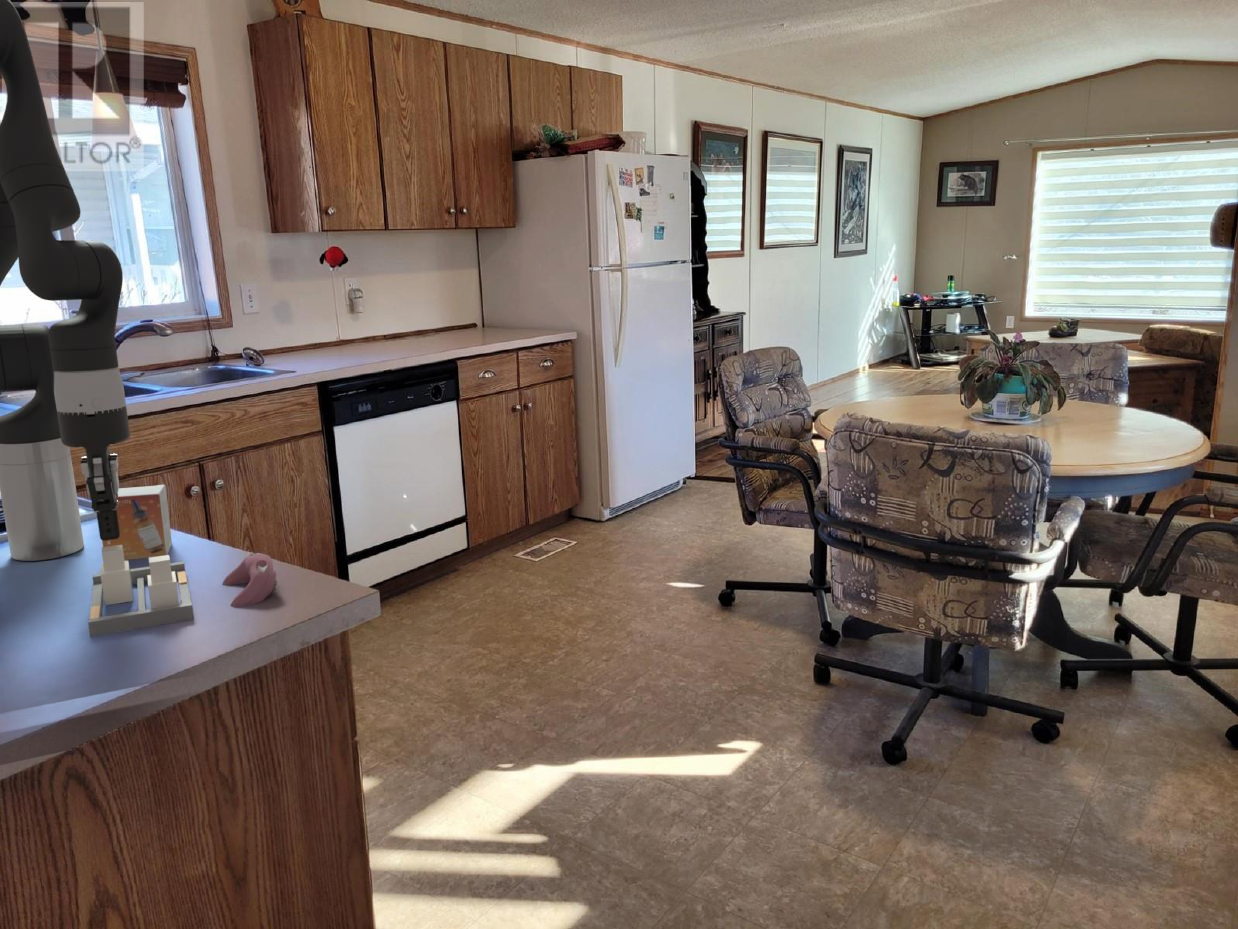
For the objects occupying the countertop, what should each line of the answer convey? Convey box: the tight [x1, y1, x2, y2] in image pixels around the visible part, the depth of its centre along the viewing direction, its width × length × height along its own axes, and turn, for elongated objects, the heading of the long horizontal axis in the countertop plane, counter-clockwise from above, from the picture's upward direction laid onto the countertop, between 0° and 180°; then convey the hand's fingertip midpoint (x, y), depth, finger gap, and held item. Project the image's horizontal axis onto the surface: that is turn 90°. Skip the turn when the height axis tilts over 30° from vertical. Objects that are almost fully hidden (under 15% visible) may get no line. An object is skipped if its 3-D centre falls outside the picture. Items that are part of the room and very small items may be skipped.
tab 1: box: [100, 545, 134, 606], centre depth 111 cm, size 4×3×6 cm
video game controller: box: [221, 551, 279, 608], centre depth 114 cm, size 10×5×7 cm, turn 30°
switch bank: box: [87, 561, 195, 637], centre depth 110 cm, size 20×11×3 cm, turn 28°
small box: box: [101, 484, 173, 561], centre depth 128 cm, size 8×6×10 cm
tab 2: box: [147, 554, 180, 609], centre depth 107 cm, size 4×3×6 cm
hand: (110, 538), depth 115 cm, fingers closed
